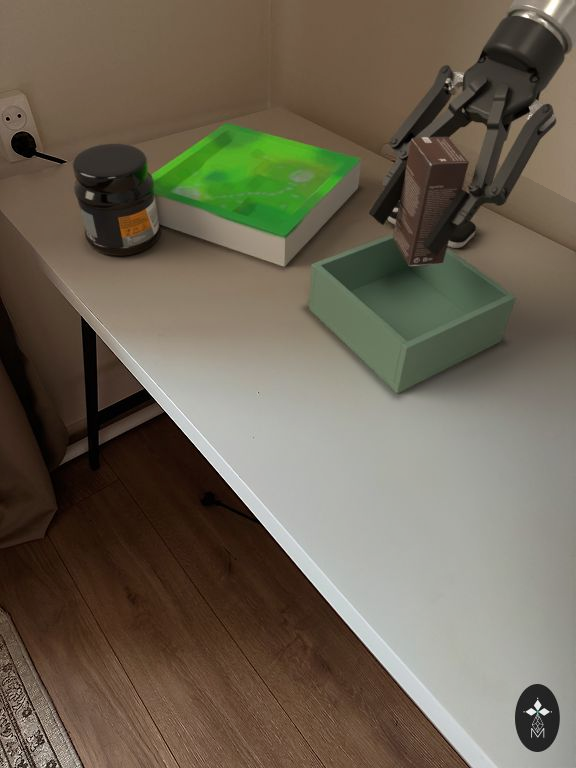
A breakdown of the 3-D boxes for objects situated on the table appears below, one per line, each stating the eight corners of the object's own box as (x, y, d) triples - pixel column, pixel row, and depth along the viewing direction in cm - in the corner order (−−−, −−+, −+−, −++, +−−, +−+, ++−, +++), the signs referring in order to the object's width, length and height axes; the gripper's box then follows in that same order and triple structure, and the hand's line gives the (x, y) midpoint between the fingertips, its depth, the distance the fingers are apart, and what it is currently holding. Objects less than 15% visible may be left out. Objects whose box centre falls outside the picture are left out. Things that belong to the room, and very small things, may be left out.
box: (446, 264, 70) (471, 161, 62) (407, 267, 70) (427, 164, 61) (427, 234, 74) (449, 134, 66) (391, 237, 74) (407, 136, 65)
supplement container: (175, 241, 92) (165, 163, 83) (109, 268, 87) (92, 188, 78) (137, 210, 97) (124, 134, 88) (73, 234, 92) (53, 155, 84)
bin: (500, 341, 78) (516, 296, 73) (397, 394, 72) (406, 348, 67) (407, 269, 88) (415, 225, 83) (308, 308, 82) (311, 263, 77)
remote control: (458, 252, 91) (461, 240, 90) (382, 221, 96) (384, 210, 95) (477, 233, 95) (480, 222, 93) (403, 205, 100) (405, 193, 99)
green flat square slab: (227, 151, 111) (226, 122, 108) (358, 188, 103) (361, 159, 100) (138, 217, 96) (133, 186, 92) (284, 266, 88) (285, 235, 84)
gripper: (629, 89, 62) (487, 288, 66) (465, 33, 72) (351, 209, 76) (624, 42, 55) (466, 265, 60) (445, -12, 66) (321, 182, 70)
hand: (402, 233), depth 68 cm, fingers closed on box, 7 cm apart
